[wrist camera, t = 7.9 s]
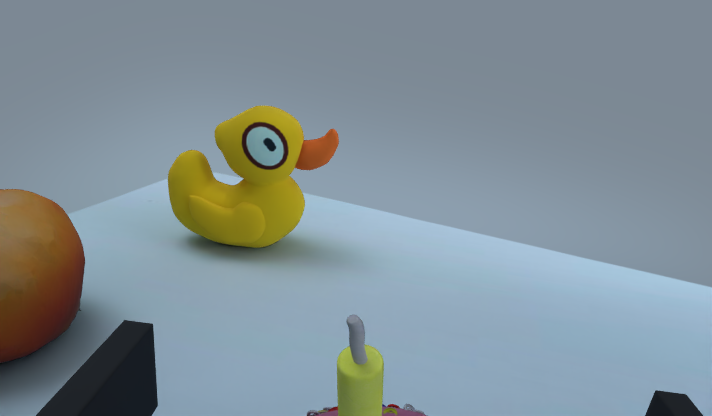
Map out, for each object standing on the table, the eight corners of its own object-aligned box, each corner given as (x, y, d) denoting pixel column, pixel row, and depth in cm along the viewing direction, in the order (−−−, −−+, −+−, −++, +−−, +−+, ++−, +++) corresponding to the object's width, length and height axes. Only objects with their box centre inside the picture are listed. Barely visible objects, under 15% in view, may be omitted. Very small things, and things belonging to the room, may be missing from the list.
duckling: (329, 234, 38) (341, 107, 34) (327, 266, 33) (341, 121, 29) (183, 222, 37) (180, 91, 33) (159, 253, 32) (151, 102, 28)
